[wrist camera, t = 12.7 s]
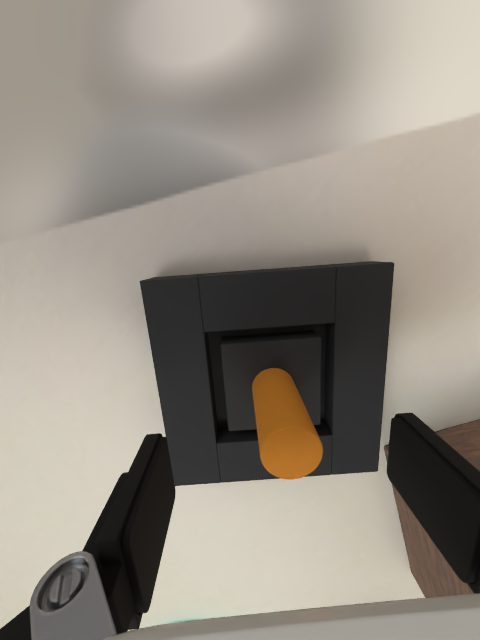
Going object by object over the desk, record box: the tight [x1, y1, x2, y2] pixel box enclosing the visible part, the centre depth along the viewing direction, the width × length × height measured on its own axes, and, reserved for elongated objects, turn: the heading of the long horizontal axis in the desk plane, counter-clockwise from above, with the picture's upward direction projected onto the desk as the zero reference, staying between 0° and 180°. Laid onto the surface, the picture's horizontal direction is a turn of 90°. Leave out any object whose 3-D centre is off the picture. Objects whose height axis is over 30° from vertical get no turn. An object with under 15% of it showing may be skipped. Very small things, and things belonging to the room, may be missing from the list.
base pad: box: [140, 262, 394, 486], centre depth 17 cm, size 14×14×2 cm
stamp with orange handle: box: [220, 331, 323, 479], centre depth 14 cm, size 6×6×7 cm
